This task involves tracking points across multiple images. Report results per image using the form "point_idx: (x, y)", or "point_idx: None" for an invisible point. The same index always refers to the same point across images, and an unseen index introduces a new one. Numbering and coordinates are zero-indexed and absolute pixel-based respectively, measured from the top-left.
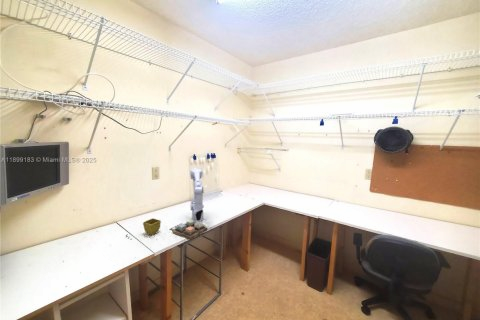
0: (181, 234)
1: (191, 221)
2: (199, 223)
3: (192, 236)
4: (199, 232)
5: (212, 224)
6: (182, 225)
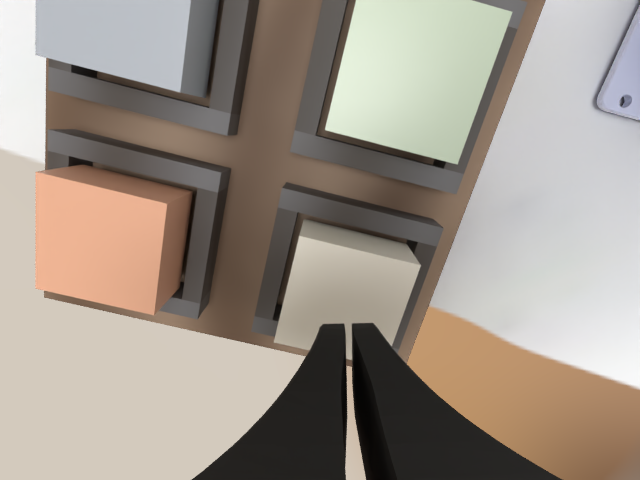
0: (52, 107)
1: (403, 106)
2: (356, 319)
3: (76, 304)
4: (225, 334)
5: (574, 353)
6: (120, 6)
